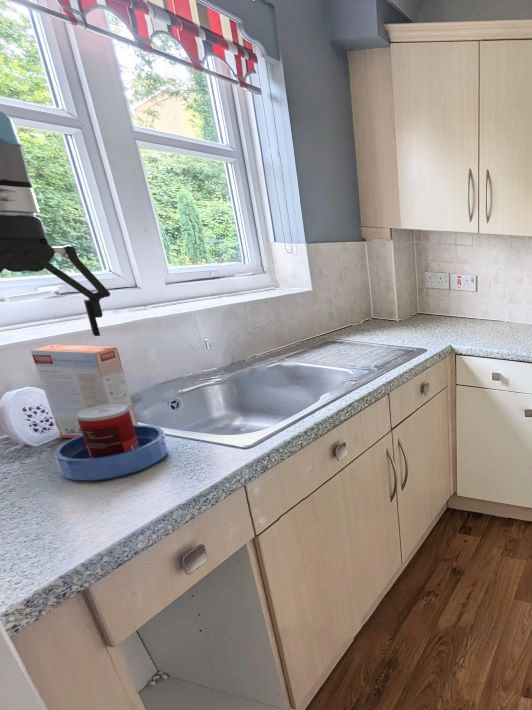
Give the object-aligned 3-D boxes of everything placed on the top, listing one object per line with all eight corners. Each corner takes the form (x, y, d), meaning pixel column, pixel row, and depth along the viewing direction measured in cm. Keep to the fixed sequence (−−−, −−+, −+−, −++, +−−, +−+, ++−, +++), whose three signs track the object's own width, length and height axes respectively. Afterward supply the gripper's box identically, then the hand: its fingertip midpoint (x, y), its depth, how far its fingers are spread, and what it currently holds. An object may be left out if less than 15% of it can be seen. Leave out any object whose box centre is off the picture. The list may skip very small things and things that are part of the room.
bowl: (54, 492, 83) (46, 468, 81) (69, 456, 96) (62, 435, 94) (168, 469, 93) (162, 447, 91) (168, 439, 105) (163, 419, 103)
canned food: (131, 447, 99) (118, 400, 95) (148, 457, 95) (135, 409, 91) (85, 461, 93) (69, 411, 89) (101, 472, 89) (85, 421, 85)
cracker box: (142, 431, 108) (118, 346, 101) (119, 442, 102) (93, 352, 95) (84, 427, 108) (56, 342, 101) (59, 438, 103) (27, 349, 95)
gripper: (-122, 207, 64) (-65, 352, 71) (111, 220, 82) (138, 334, 89) (-116, 206, 69) (-63, 343, 76) (104, 218, 87) (130, 328, 94)
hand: (46, 339), depth 83 cm, fingers open, 13 cm apart
